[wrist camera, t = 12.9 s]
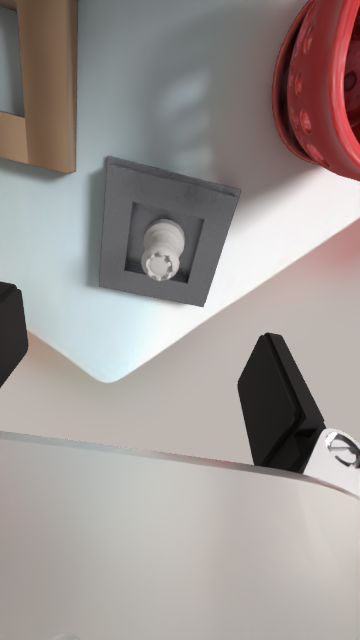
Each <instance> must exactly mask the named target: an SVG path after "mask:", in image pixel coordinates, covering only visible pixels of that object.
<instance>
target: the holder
mask: <svg viewBox="0 0 360 640" xmlns="http://www.w3.org/2000/svg"><path fill="white" fill-rule="evenodd" d="M240 193H241V190H239V189H235V188H231V187H228V186H224V185H220V184H216V183H212V182H208V181H204V180H201V179H197V178H193V177H189V176H185V175H181V174H178V173H174V172H170V171H166V170H162V169H158V168H154V167H151V166H147V165H143V164H139V163H135V162H131V161H127V160H124V159H120V158H116V157H112V156H108V157H107V172H106V187H105V202H104V217H103V232H102V247H101V261H100V276H99V282H100V283H99V286H100V287H105V288H110V289H115V290H120V291H125V292H130V293H135V294H140V295H145V296H150V297H155V298H160V299H165V300H170V301H175V302H180V303H185V304H190V305H195V306H200V307H204V304H205V302H206V299H207V296H208V293H209V289H210V286H211V283H212V280H213V277H214V274H215V271H216V268H217V264H218V261H219V258H220V255H221V252H222V249H223V246H224V243H225V240H226V236H227V233H228V230H229V227H230V224H231V221H232V218H233V215H234V212H235V208H236V205H237V202H238V199H239V196H240ZM160 219H167V220H172V221H174V222H175V223H177V224H178V225H179V226H180V227H181V229H182V230H183V232H184V236H185V245H184V250H183V252H182V254H181V255H180V257H179V262H180V263H179V269H178V271H177V272H176V274H175V275H174V276H173V277H171V278H170V279H168V280H163V281H155V280H154V279H152V278H151V277H149V276H148V275H147V274H146V273H145V272H144V271H143V267H142V264H141V261H142V256H143V254H144V252H145V248H144V245H143V240H144V233H145V231H146V229H147V227H148V226H149V225H150V224H151V223H152V222H154V221H156V220H160Z"/></svg>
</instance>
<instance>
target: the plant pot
mask: <svg viewBox="0 0 360 640" xmlns="http://www.w3.org/2000/svg"><path fill="white" fill-rule="evenodd" d="M272 109H273V116H274V120H275V124H276V128H277V130H278V133H279V135H280V137H281V139H282V141H283V142H284V144H285V145H286V147H287V148H288V149H289V150H290V151H291V152H292V153H293V154H295V155H296V156H297V157H299V158H301V159H303V160H304V161H307V162H310V163H313V164H318V165H321V166H322V167H324V168H326V169H327V170H329V171H331V172H333V173H335V174H337V175H340V176H343V177H347V178H351V179H354V180H357V181H360V0H309V1H308V2H307V3H306V4H305V6H304V7H303V8H302V10H301V11H300V13H299V14H298V16H297V17H296V19H295V20H294V22H293V24H292V25H291V27H290V29H289V31H288V33H287V35H286V37H285V39H284V42H283V44H282V47H281V49H280V52H279V55H278V58H277V62H276V66H275V71H274V76H273V84H272Z"/></svg>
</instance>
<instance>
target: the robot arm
mask: <svg viewBox="0 0 360 640" xmlns="http://www.w3.org/2000/svg"><path fill="white" fill-rule="evenodd" d="M27 350H28V338H27V330H26V323H25V315H24V307H23V300H22V293H21V290H20V289H17V287H16V285H14V284H10V283H5V282H0V388H1V386H2V385H3V384H4V382H5V381H6V380H7V378H8V377H9V376H10V374H11V373H12V371H13V370H14V369H15V368H16V366H17V365H18V364H19V362H20V361H21V360H22V358H23V357H24V356H25V354H26V353H27ZM238 393H239V397H240V402H241V406H242V411H243V416H244V421H245V425H246V430H247V435H248V439H249V444H250V448H251V453H252V458H253V462H254V465H248V464H242V463H236V462H228V461H221V460H214V459H207V458H200V457H192V456H185V455H178V454H171V453H163V452H156V451H148V450H141V449H133V448H126V447H119V446H112V445H104V444H97V443H89V442H81V441H74V440H66V439H58V438H51V437H42V436H35V435H28V434H19V433H12V432H3V431H0V640H360V444H359V443H358V442H357V441H356V440H355V439H353V438H352V437H351V436H349V435H348V434H346V433H345V432H343V431H340V430H338V429H333V428H328V429H327V428H326V426H325V424H324V419H323V417H322V415H321V413H320V411H319V409H318V407H317V405H316V403H315V401H314V399H313V397H312V395H311V393H310V391H309V389H308V387H307V385H306V383H305V381H304V379H303V377H302V375H301V373H300V371H299V369H298V367H297V365H296V363H295V361H294V359H293V357H292V355H291V353H290V351H289V349H288V347H287V345H286V343H285V341H284V339H283V337H282V336H281V335H278V334H273V333H265V334H264V335H261V336H260V337H259V339H258V341H257V343H256V345H255V347H254V350H253V351H252V353H251V356H250V358H249V360H248V362H247V364H246V366H245V368H244V370H243V372H242V374H241V376H240V378H239V380H238Z"/></svg>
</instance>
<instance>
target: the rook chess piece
mask: <svg viewBox="0 0 360 640" xmlns="http://www.w3.org/2000/svg"><path fill="white" fill-rule="evenodd" d="M143 245H144V248H145V252H144V254H143V256H142V261H141V264H142V267H143V271H144V272H145V273H146V274H147V275H148V276H149V277H151V278H152V279H154V280H155V281H163V280H168V279H170V278H171V277H173V276H174V275H175V274H176V272H177V271H178V269H179V263H180V262H179V257H180V255H181V254H182V252H183V250H184V245H185V236H184V232H183V230H182V229H181V227H180V226H179V225H178V224H177V223H175V222H174V221H172V220H167V219H160V220H156V221H154V222H152V223H151V224H150V225H149V226H148V227H147V229H146V231H145V233H144V240H143Z"/></svg>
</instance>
